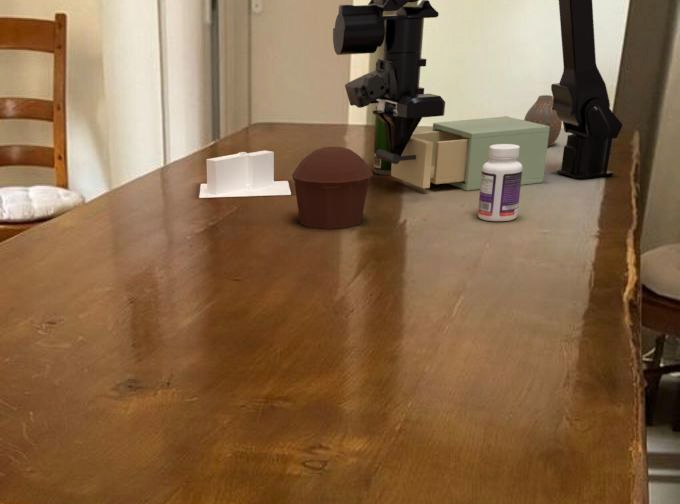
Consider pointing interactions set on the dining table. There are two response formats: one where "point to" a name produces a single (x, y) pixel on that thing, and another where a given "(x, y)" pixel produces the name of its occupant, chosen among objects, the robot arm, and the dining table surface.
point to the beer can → (380, 143)
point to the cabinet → (500, 132)
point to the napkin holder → (242, 176)
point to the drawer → (430, 159)
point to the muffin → (331, 188)
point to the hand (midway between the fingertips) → (395, 158)
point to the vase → (545, 116)
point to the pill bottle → (500, 184)
